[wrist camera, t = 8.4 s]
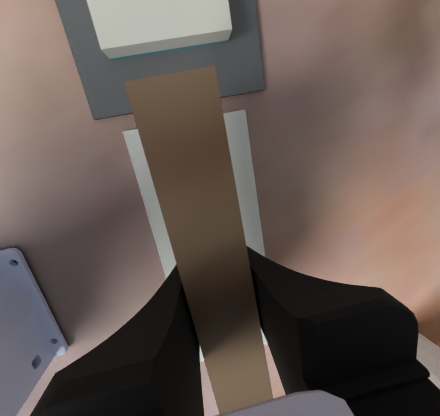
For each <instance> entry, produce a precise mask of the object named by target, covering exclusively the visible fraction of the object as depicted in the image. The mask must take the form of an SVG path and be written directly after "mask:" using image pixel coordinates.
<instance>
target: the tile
mask: <svg viewBox="0 0 440 416" xmlns="http://www.w3.org/2000/svg"><path fill="white" fill-rule="evenodd" d="M87 4H88V7H89V11H90V14H91V17H92V21H93V24H94V28H95V31H96V35H97V38H98V41H99V45H100V48H101V50H102V51H103V52H104V53H105V54H106V55H107V57H108V58H109V59H110V60H111V61H113V60H119V59H125V58H132V57H138V56H144V55H151V54H157V53H163V52H170V51H176V50H182V49H188V48H195V47H201V46H207V45H214V44H220V43H226V42H228V40H229V37H230V34H231V31H232V24H231V17H230V9H229V2H228V0H87Z"/></svg>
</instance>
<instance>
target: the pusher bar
mask: <svg viewBox="0 0 440 416" xmlns="http://www.w3.org/2000/svg"><path fill="white" fill-rule="evenodd" d="M124 84H125V87H126V91H127V94H128V98H129V101H130V105H131V108H132V112H133V115H134V118H135V122H136V125H137V129H138V132H139V136H140V139H141V143H142V146H143V150H144V153H145V157H146V160H147V164H148V167H149V170H150V174H151V177H152V181H153V184H154V188H155V191H156V195H157V198H158V202H159V205H160V209H161V212H162V215H163V219H164V222H165V226H166V229H167V233H168V236H169V240H170V243H171V247H172V250H173V254H174V257H175V261H176V264H177V267H178V271H179V274H180V278H181V281H182V285H183V288H184V292H185V295H186V299H187V302H188V306H189V309H190V312H191V316H192V319H193V323H194V326H195V330H196V333H197V337H198V340H199V344H200V347H201V351H202V354H203V358H204V361H205V364H206V368H207V371H208V375H209V378H210V382H211V385H212V389H213V392H214V396H215V399H216V403H217V406H218V410H219V413H220V414H222V413H226V412H229V411H233V410H236V409H240V408H243V407H247V406H250V405H254V404H257V403H260V402H264V401H267V400H271V399H273V395H272V389H271V383H270V378H269V372H268V366H267V361H266V355H265V349H264V344H263V338H262V332H261V326H260V321H259V315H258V309H257V304H256V298H255V292H254V286H253V281H252V275H251V269H250V264H249V258H248V252H247V247H246V241H245V235H244V229H243V224H242V218H241V212H240V207H239V201H238V195H237V189H236V184H235V178H234V172H233V167H232V161H231V155H230V149H229V144H228V138H227V132H226V127H225V121H224V115H223V110H222V104H221V98H220V92H219V87H218V81H217V75H216V70H215V65H214V66H209V67H203V68H197V69H192V70H186V71H181V72H175V73H170V74H164V75H158V76H153V77H147V78H142V79H136V80H131V81H125V82H124Z"/></svg>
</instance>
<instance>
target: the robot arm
mask: <svg viewBox="0 0 440 416" xmlns="http://www.w3.org/2000/svg"><path fill="white" fill-rule="evenodd" d="M246 247H247V252H248V258H249V264H250V269H251V275H252V281H253V286H254V292H255V298H256V304H257V309H258V315H259V321H260V326H261V329H262V332H263V334H264V336H265V338H266V341H267V343H268V345H269V348H270V351H271V354H272V356H273V359H274V362H275V365H276V368H277V370H278V373H279V376H280V379H281V382H282V385H283V388H284V391H285V394H286V395H285V396H281V397H278V398H274V399H271V400H267V401H264V402H260V403H257V404H254V405H250V406H247V407H243V408H240V409H236V410H233V411H229V412H226V413H222V414H219V415H216V416H440V389H439V388H438V387H437V386H436V385H435V384H434V383H433V382H432V381H431V380H430V379H429V378H428V377H430V372H429V371H428V369H427V368H426V367H425V366H424V365H423V364H422V363H420V362H419V361H418V360H417V359H416V356H417V345H418V335H419V334H418V322H417V319H416V317H415V315H414V313H413V312H412V311H411V310H409V309H408V308H407V307H406V306H405V305H403V304H402V303H401V302H399V301H398V300H397V299H395V298H394V297H393V296H391V295H390V294H389V293H387V292H386V291H384V290H383V289H382V288H377V287H367V286H358V285H349V284H343V283H337V282H332V281H327V280H323V279H319V278H315V277H311V276H308V275H305V274H301V273H299V272H296V271H293V270H291V269H288V268H286V267H283V266H281V265H279V264H277V263H275V262H273V261H271V260H269V259H268V258H266V257H264V256H262V255H261V254H259V253H257V252H256V251H254V250H253V249H251V248H250V247H248V246H246ZM14 260H16V261H17V262H18V264H17V263H15V262H14ZM56 339H57V340H56ZM67 350H68V345H67V343H66V341H65V339H64V337H63V335H62V333H61V331H60V329H59V327H58V325H57V323H56V321H55V319H54V317H53V315H52V313H51V311H50V309H49V307H48V305H47V303H46V301H45V299H44V297H43V295H42V293H41V291H40V289H39V287H38V285H37V282H36V280H35V278H34V276H33V274H32V272H31V270H30V268H29V266H28V264H27V262H26V260H25V258H24V256H23V254H22V252H21V251H20V250H19V249H17V248H8V249H3V250H0V416H16V415H17V414H18V412H19V410H20V409H21V407H22V406H23V404H24V403H25V401H26V400H27V398H28V396H29V395H30V393H31V392H32V390H33V389H34V387H35V386H36V384H37V383H38V381H39V379H40V378H41V376H42V375H43V373H44V372H45V370H46V369H47V367H48V366H49V364H50V362H51V361H52V359H53V358H54V357H57V356H61V355H63V354H65V353H66V351H67ZM30 416H204V408H203V397H202V385H201V372H200V344H199V340H198V337H197V333H196V330H195V326H194V323H193V319H192V316H191V312H190V309H189V306H188V302H187V299H186V295H185V292H184V288H183V285H182V281H181V278H180V274H179V271H178V267H177V264H176V265H175V267H174V268H173V270H172V271H171V273H170V274H169V276H168V277H167V279H166V280H165V282H164V283H163V284H162V286H161V287H160V288H159V289H158V291H157V292H156V293H155V294H154V296H153V297H152V298H151V299H150V300H149V301H148V303H147V304H146V305H145V306H144V307H143V308H142V309H141V310H140V311H139V312H138V313H137V314H136V315H135V316H134V317H133V318H131V319H130V320H129V321H128V322H127V323H126V324H125V325H123V326H122V327H121V328H120V329H119V330H118V331H117V332H115V333H114V334H113V335H111V336H110V337H109V338H108V339H106V340H105V341H104V342H102V343H101V344H99V345H98V346H97V347H95V348H94V349H93V350H91V351H90V352H88V353H87V354H85V355H84V356H82V357H81V358H79V359H77V360H76V361H74V362H73V363H71V364H70V365H68V366H67V367H65V368H63V369H62V370H60V371H59V372H57V373H55V375H54V376H53V378H52V380H51V381H50V383H49V385H48V386H47V388H46V390H45V391H44V393H43V395H42V396H41V398H40V400H39V401H38V403H37V405H36V407H35V408H34V410H33V412H32V413H31V415H30Z"/></svg>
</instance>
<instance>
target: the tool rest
mask: <svg viewBox="0 0 440 416" xmlns="http://www.w3.org/2000/svg"><path fill="white" fill-rule="evenodd" d="M223 115H224V121H225V127H226V132H227V138H228V144H229V149H230V155H231V161H232V167H233V172H234V178H235V184H236V189H237V195H238V201H239V207H240V212H241V218H242V224H243V229H244V235H245V241H246V246H248V247H250V248H251V249H253V250H254V251H256V252H257V253H259V254H261V255H262V256H264V257H265V251H264V243H263V236H262V229H261V221H260V214H259V207H258V199H257V192H256V185H255V177H254V170H253V163H252V155H251V148H250V141H249V133H248V126H247V119H246V111H245V109H244V110H239V111H233V112H228V113H223ZM123 134H124V137H125V141H126V144H127V148H128V151H129V154H130V158H131V161H132V165H133V168H134V171H135V175H136V178H137V182H138V185H139V188H140V192H141V195H142V199H143V202H144V205H145V209H146V212H147V216H148V219H149V222H150V226H151V229H152V233H153V236H154V239H155V243H156V246H157V250H158V253H159V256H160V260H161V263H162V267H163V270H164V273H165V277H166V279H167V277H168V276H169V274H170V273H171V271H172V270H173V268H174V267H175V265H176V261H175V257H174V254H173V250H172V247H171V243H170V240H169V236H168V233H167V229H166V226H165V222H164V219H163V215H162V212H161V209H160V205H159V202H158V198H157V195H156V191H155V188H154V184H153V181H152V177H151V174H150V170H149V167H148V164H147V160H146V157H145V153H144V150H143V146H142V143H141V139H140V136H139V132H138V129H134V130H129V131H123ZM261 332H262V329H261ZM262 338H263V344H264V345H267V344H268V343H267V341H266V338H265V336H264V334H263V332H262ZM202 361H204V358H203V354H202V351H201V347H200V362H202Z"/></svg>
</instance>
